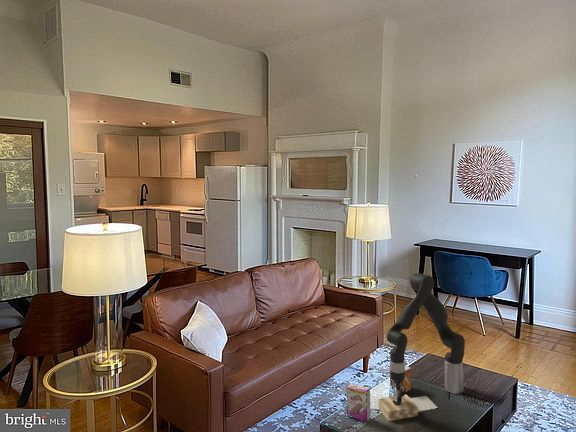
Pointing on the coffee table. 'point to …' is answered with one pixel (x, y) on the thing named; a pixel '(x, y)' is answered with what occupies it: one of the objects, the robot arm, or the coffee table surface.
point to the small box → (407, 379)
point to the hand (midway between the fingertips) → (397, 400)
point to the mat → (424, 403)
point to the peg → (396, 398)
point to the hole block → (398, 408)
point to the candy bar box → (358, 402)
